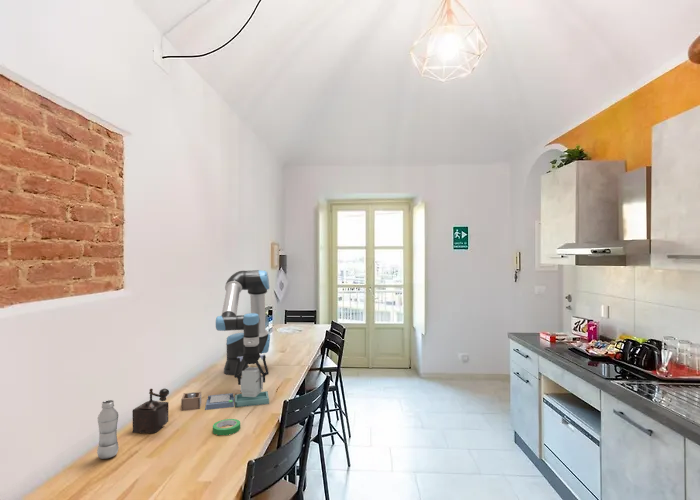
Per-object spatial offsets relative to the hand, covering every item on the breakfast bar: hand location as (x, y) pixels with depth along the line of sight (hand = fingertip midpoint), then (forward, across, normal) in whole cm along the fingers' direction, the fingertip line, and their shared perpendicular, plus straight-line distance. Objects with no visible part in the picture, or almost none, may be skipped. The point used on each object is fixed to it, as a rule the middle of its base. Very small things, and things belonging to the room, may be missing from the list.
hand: (251, 390), depth 196 cm
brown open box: (+6, -28, 0) cm, 29 cm away
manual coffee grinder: (+6, -40, -19) cm, 45 cm away
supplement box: (+2, 0, 0) cm, 2 cm away
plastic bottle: (+6, -52, -40) cm, 66 cm away
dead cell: (+5, -28, 0) cm, 28 cm away
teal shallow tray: (+6, 0, 0) cm, 6 cm away
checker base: (+6, -15, 0) cm, 16 cm away
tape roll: (+6, -11, -29) cm, 32 cm away
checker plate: (+4, -15, 0) cm, 15 cm away
